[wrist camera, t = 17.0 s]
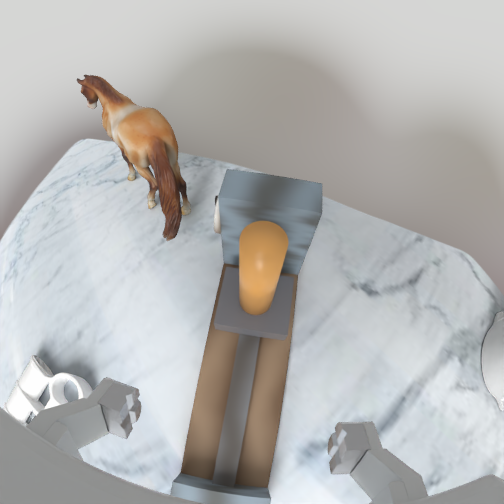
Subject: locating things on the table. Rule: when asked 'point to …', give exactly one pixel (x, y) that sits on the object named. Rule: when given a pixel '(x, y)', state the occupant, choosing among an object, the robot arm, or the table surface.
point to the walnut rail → (218, 400)
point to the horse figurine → (143, 147)
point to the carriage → (257, 285)
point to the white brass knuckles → (40, 390)
